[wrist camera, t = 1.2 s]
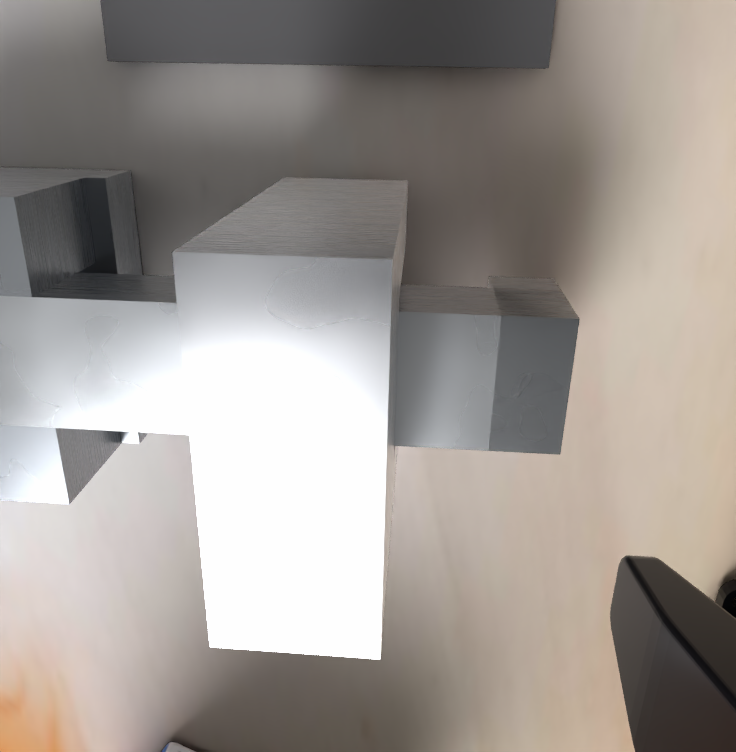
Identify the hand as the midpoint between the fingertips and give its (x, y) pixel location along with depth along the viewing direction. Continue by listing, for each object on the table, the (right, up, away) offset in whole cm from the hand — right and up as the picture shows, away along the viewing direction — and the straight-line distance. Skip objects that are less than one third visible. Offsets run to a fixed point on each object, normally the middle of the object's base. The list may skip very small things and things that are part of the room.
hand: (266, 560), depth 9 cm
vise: (-2, +4, +10) cm, 11 cm away
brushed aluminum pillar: (0, +2, +5) cm, 6 cm away
